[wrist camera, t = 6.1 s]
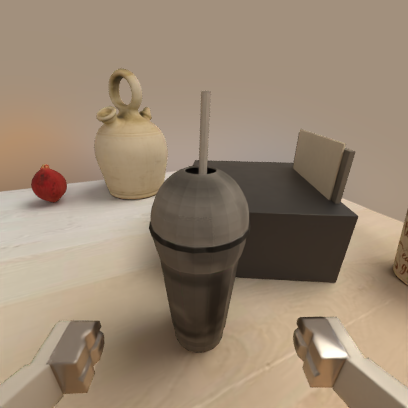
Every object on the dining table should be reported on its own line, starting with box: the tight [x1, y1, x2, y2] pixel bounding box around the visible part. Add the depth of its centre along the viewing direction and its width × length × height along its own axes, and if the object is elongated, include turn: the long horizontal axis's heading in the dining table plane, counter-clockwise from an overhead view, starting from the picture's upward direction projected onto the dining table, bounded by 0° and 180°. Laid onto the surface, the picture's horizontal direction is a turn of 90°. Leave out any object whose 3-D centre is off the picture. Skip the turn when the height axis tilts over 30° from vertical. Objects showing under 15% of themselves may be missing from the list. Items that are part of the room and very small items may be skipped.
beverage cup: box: [149, 91, 251, 353], centre depth 17 cm, size 7×7×20 cm
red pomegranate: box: [31, 164, 67, 203], centre depth 45 cm, size 6×6×8 cm
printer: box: [193, 129, 358, 282], centre depth 34 cm, size 19×22×16 cm
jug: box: [94, 69, 168, 199], centre depth 48 cm, size 15×16×25 cm
